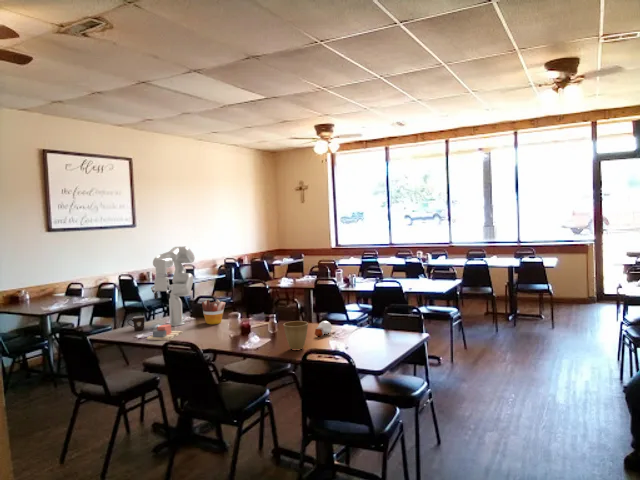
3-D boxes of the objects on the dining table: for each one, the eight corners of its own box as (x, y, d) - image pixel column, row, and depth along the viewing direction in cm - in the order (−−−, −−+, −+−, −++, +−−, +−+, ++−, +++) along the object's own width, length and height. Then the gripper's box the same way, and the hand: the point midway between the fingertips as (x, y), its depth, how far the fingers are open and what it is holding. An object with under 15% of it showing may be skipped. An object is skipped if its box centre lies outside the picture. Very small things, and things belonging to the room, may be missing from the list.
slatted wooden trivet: (162, 332, 360) (162, 330, 360) (182, 333, 357) (182, 331, 357) (146, 339, 341) (146, 337, 340) (168, 340, 337) (168, 337, 337)
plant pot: (289, 345, 312) (288, 320, 312) (311, 346, 308) (311, 321, 307) (280, 352, 298) (279, 325, 297) (304, 353, 294) (303, 326, 293)
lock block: (163, 332, 353) (163, 324, 352) (171, 333, 351) (171, 324, 351) (157, 335, 345) (157, 326, 345) (165, 335, 344) (165, 327, 343)
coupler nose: (156, 335, 344) (155, 330, 344) (166, 335, 343) (166, 330, 343) (152, 337, 341) (152, 331, 340) (163, 337, 339) (163, 331, 339)
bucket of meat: (210, 320, 401) (209, 295, 400) (228, 320, 396) (227, 296, 396) (197, 325, 381) (196, 299, 381) (217, 326, 377) (216, 300, 376)
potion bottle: (330, 334, 345) (321, 342, 332) (319, 326, 348) (309, 333, 334) (336, 324, 342) (327, 332, 328) (325, 316, 344) (316, 323, 331)
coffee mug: (147, 328, 375) (146, 315, 374) (142, 331, 366) (141, 318, 366) (132, 329, 376) (132, 315, 376) (127, 331, 367) (126, 318, 367)
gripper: (174, 274, 362) (175, 298, 363) (153, 275, 366) (154, 298, 367) (169, 276, 355) (170, 299, 355) (147, 276, 359) (148, 299, 359)
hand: (162, 299), depth 361 cm, fingers open, 9 cm apart
